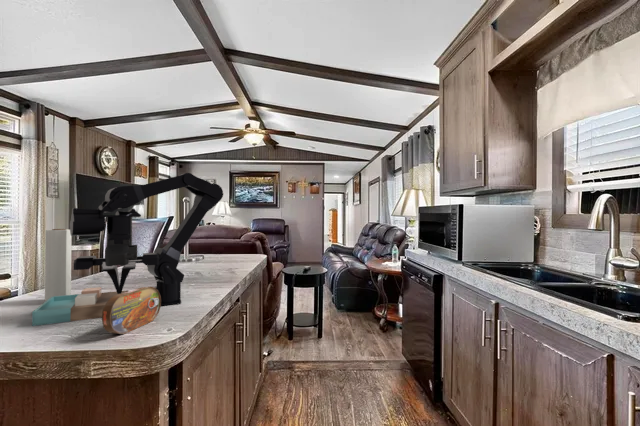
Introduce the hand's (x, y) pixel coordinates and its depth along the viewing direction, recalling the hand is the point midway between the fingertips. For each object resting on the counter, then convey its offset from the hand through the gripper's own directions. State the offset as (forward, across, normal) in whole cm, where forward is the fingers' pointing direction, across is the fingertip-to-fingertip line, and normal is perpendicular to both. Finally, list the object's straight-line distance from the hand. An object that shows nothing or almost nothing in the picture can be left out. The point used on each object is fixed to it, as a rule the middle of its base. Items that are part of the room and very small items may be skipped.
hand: (119, 293), depth 84 cm
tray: (+5, -13, +4) cm, 14 cm away
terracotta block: (+2, -7, +8) cm, 11 cm away
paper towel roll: (+5, -17, +20) cm, 27 cm away
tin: (+5, +4, -16) cm, 17 cm away
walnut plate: (+5, -4, +4) cm, 7 cm away
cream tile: (+2, -7, 0) cm, 7 cm away
